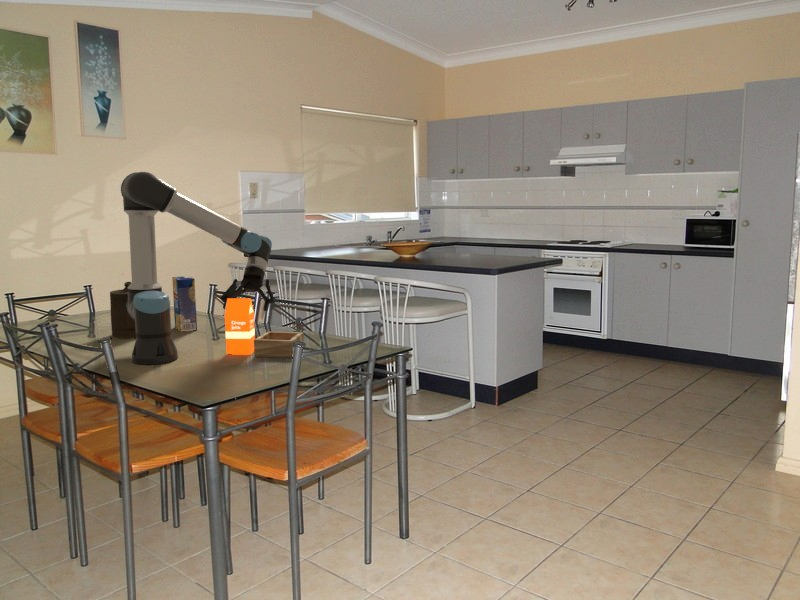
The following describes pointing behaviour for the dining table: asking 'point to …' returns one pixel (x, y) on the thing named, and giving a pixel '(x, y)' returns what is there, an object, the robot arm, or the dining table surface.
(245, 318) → the orange juice
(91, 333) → the dining table surface
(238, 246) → the robot arm
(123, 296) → the wooden container
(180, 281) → the beverage box
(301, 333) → the box
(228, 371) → the dining table surface
